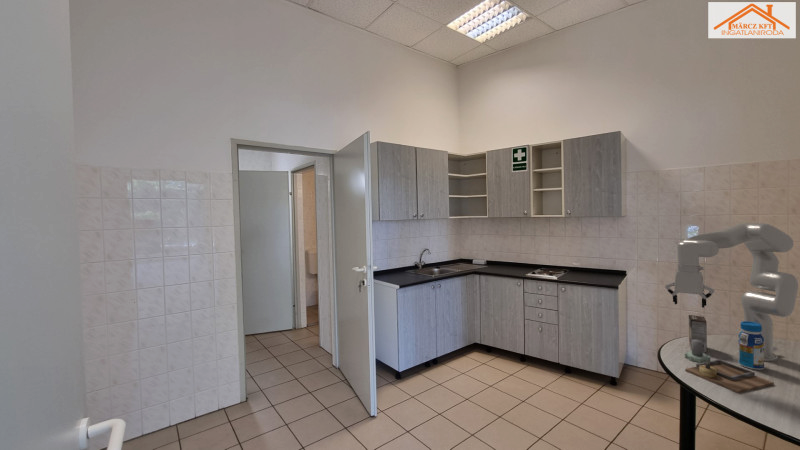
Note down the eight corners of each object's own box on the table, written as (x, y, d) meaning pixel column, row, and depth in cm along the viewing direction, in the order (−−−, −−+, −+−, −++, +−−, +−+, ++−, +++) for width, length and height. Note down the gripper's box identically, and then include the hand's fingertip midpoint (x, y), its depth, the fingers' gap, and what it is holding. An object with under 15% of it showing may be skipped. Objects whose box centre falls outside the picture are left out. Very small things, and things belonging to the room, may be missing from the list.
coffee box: (688, 344, 183) (688, 314, 182) (704, 346, 179) (704, 316, 179) (690, 350, 176) (690, 319, 175) (707, 352, 172) (706, 321, 171)
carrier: (718, 364, 160) (718, 351, 159) (773, 384, 140) (773, 370, 140) (685, 370, 155) (685, 358, 155) (738, 393, 136) (738, 378, 135)
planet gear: (694, 353, 171) (694, 336, 171) (715, 361, 162) (715, 343, 162) (679, 356, 169) (679, 338, 169) (700, 364, 160) (700, 345, 160)
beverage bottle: (736, 360, 162) (736, 319, 161) (761, 364, 157) (761, 322, 157) (740, 367, 155) (740, 324, 155) (767, 372, 150) (767, 327, 150)
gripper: (714, 268, 153) (715, 306, 154) (665, 266, 165) (666, 300, 166) (713, 271, 148) (714, 310, 148) (663, 268, 160) (664, 304, 161)
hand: (689, 305), depth 157 cm, fingers open, 9 cm apart
